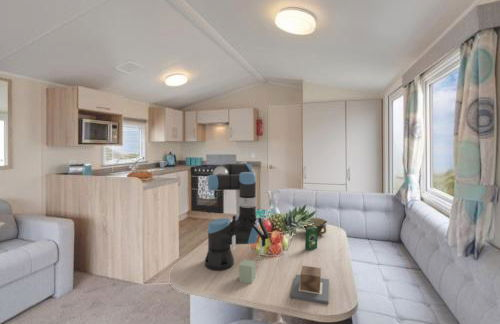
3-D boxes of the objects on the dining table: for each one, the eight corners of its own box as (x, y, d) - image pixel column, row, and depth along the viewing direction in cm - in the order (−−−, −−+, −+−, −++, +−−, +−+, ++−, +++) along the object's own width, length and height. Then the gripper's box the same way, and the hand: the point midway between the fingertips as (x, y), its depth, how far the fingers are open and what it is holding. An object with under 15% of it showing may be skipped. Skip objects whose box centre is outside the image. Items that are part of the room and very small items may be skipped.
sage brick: (239, 281, 123) (239, 264, 122) (243, 275, 128) (243, 259, 128) (251, 283, 121) (251, 266, 120) (255, 277, 127) (255, 261, 126)
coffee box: (314, 246, 164) (314, 225, 164) (317, 248, 162) (318, 226, 161) (304, 249, 160) (305, 227, 159) (308, 250, 158) (308, 229, 157)
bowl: (296, 234, 187) (296, 220, 186) (308, 228, 200) (309, 215, 200) (320, 240, 175) (320, 225, 175) (331, 233, 189) (331, 219, 188)
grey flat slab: (290, 297, 110) (290, 294, 110) (296, 276, 127) (296, 274, 127) (328, 304, 106) (328, 301, 105) (328, 281, 123) (328, 279, 123)
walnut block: (300, 289, 114) (300, 273, 113) (302, 280, 121) (302, 265, 121) (319, 292, 111) (320, 276, 111) (320, 283, 119) (320, 268, 118)
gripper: (219, 205, 122) (219, 251, 123) (272, 209, 115) (272, 257, 116) (225, 202, 129) (225, 245, 131) (275, 206, 122) (275, 251, 123)
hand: (247, 251), depth 123 cm, fingers open, 13 cm apart
